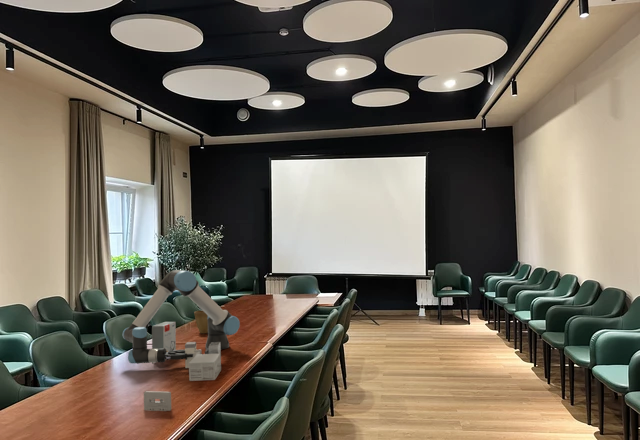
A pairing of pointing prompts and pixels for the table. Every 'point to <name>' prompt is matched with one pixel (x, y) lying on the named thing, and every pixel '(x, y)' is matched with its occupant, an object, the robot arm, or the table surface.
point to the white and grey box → (189, 351)
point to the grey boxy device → (215, 348)
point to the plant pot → (201, 321)
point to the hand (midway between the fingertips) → (200, 353)
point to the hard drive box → (164, 336)
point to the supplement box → (204, 367)
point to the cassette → (157, 405)
